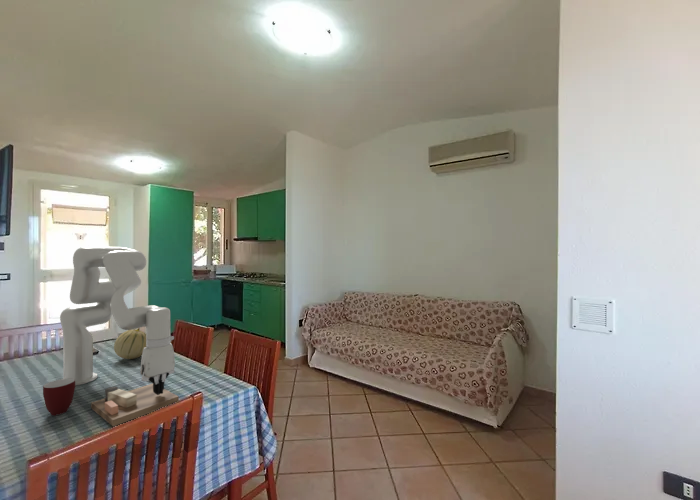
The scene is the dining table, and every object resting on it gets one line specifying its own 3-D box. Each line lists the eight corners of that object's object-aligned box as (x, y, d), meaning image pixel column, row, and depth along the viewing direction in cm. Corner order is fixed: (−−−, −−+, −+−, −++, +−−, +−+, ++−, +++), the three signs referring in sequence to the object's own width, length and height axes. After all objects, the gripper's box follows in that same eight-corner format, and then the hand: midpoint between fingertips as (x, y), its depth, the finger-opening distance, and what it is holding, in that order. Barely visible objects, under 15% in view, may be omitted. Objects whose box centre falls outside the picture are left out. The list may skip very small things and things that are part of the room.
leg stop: (104, 409, 106) (104, 402, 106) (111, 407, 108) (111, 400, 108) (111, 415, 103) (111, 407, 103) (118, 412, 104) (118, 405, 104)
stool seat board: (91, 408, 111) (91, 402, 111) (153, 388, 127) (153, 383, 127) (112, 426, 100) (113, 420, 100) (178, 401, 116) (178, 396, 116)
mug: (38, 412, 109) (38, 382, 109) (69, 402, 115) (69, 375, 115) (46, 421, 103) (46, 390, 103) (78, 411, 109) (78, 381, 109)
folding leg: (102, 399, 113) (102, 389, 113) (114, 395, 116) (114, 385, 116) (125, 408, 107) (125, 397, 107) (137, 403, 110) (137, 393, 110)
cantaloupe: (109, 359, 162) (109, 330, 162) (141, 352, 174) (141, 324, 174) (121, 365, 153) (121, 334, 154) (154, 357, 166) (154, 328, 166)
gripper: (174, 336, 124) (174, 383, 124) (130, 345, 112) (130, 398, 112) (184, 339, 120) (184, 388, 120) (139, 349, 108) (139, 404, 108)
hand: (158, 393), depth 116 cm, fingers closed
